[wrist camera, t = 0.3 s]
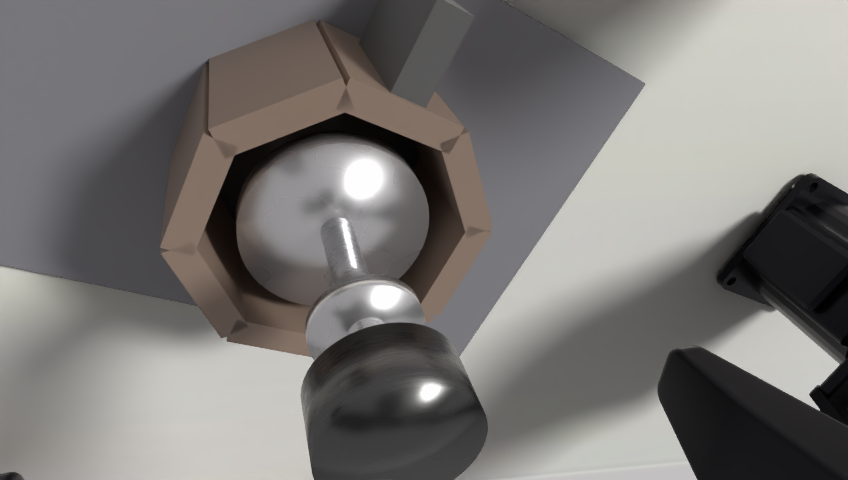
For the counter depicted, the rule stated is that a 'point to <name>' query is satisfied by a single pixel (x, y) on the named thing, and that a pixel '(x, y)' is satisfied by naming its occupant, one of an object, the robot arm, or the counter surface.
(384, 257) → the silver stemmed round piece
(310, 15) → the mat
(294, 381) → the counter surface
